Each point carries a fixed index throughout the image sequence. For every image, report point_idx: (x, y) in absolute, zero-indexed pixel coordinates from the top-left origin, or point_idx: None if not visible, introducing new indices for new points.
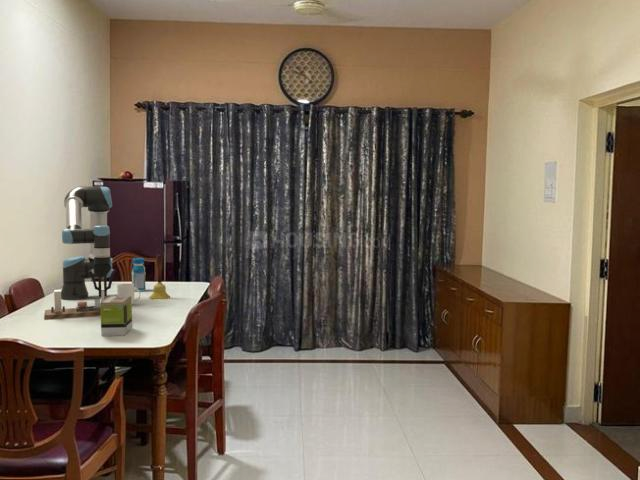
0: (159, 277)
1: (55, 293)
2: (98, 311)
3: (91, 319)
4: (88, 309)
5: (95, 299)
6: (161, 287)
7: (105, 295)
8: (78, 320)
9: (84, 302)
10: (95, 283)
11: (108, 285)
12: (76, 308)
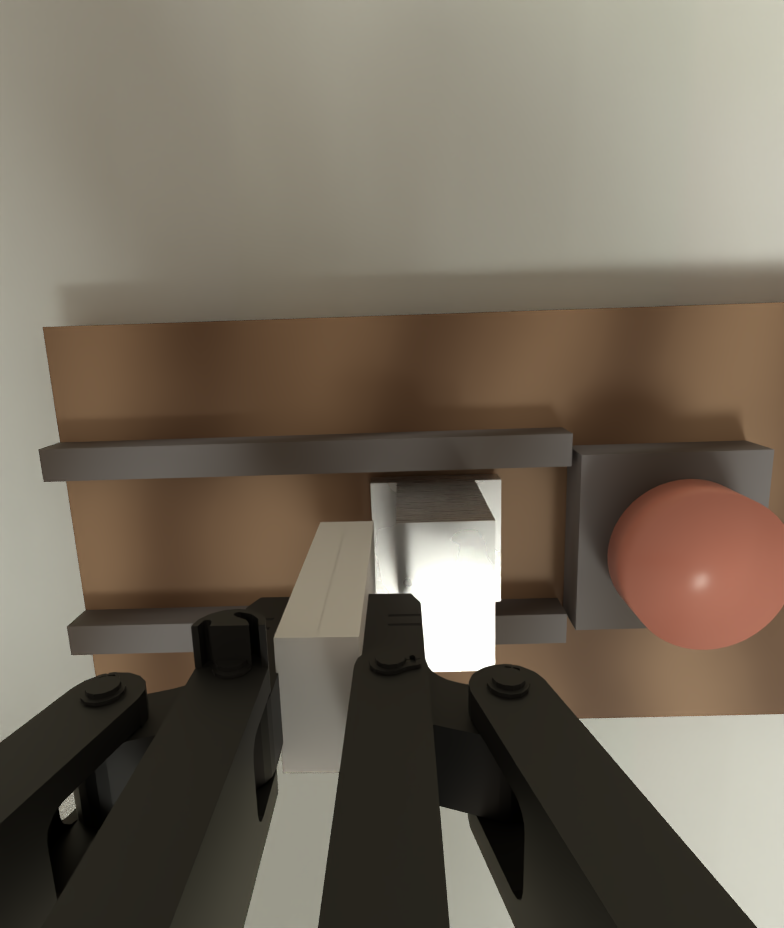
0: None
1: None
2: (426, 341)
3: (533, 55)
4: (575, 449)
5: (481, 597)
6: None
7: (275, 607)
8: (722, 37)
9: (672, 556)
10: (572, 813)
11: (93, 765)
12: (770, 456)
